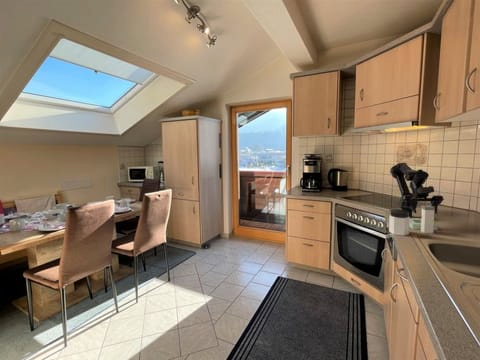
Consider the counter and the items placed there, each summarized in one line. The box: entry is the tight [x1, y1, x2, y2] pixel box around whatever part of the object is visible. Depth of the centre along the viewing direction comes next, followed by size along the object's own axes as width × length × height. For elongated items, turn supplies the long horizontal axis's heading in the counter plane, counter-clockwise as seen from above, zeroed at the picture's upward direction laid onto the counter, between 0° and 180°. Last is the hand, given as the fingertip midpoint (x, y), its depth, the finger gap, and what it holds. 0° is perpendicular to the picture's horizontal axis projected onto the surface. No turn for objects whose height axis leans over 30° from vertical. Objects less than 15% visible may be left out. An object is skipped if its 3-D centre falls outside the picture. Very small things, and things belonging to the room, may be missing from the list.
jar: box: [388, 208, 410, 237], centre depth 128 cm, size 9×8×12 cm
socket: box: [409, 217, 439, 231], centre depth 136 cm, size 11×11×3 cm
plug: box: [420, 204, 435, 234], centre depth 127 cm, size 4×4×14 cm
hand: (425, 213), depth 129 cm, fingers open, 9 cm apart
